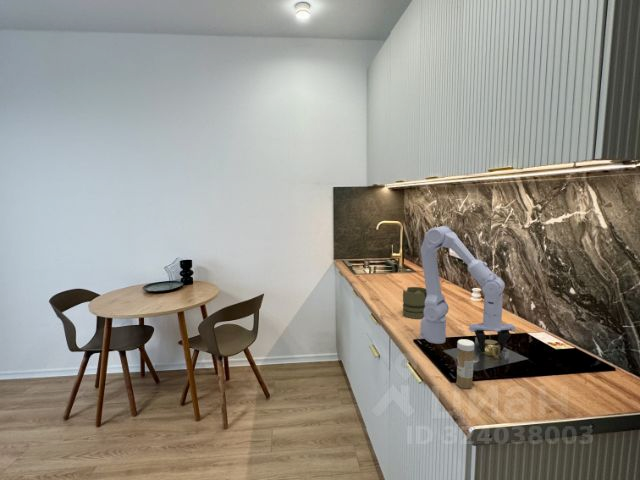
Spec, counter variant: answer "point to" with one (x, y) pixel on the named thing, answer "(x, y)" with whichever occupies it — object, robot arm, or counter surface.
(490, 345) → the cap
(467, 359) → the sprinkles bottle
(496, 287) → the robot arm
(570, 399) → the counter surface
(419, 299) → the piston
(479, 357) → the base
